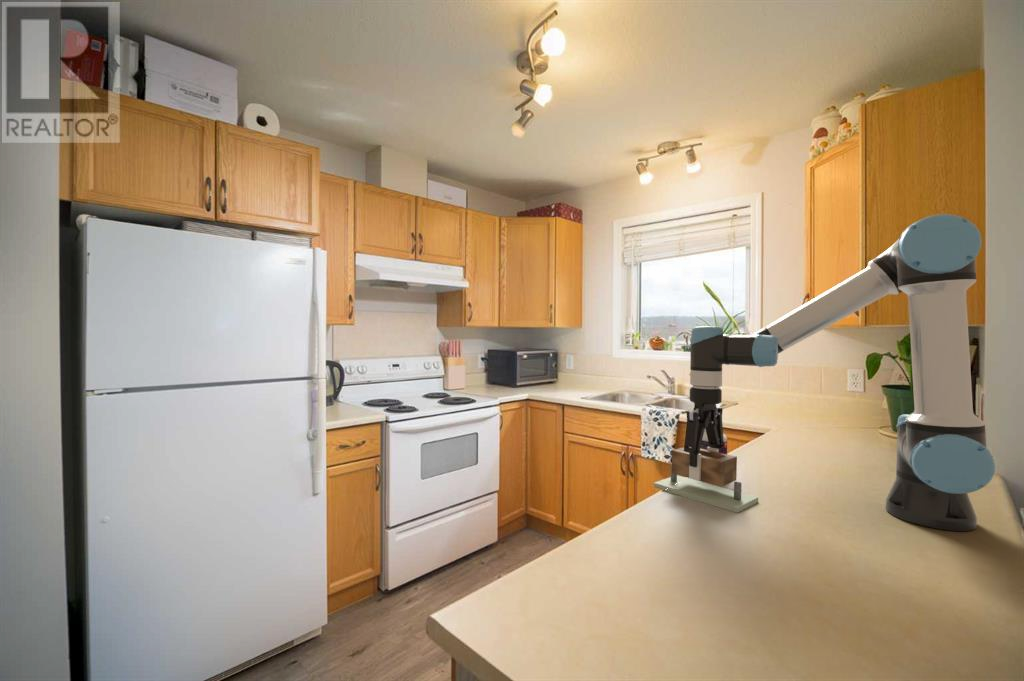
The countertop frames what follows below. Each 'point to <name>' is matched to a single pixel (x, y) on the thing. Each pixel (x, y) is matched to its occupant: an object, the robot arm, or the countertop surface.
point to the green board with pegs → (708, 492)
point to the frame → (707, 466)
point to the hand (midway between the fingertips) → (703, 475)
